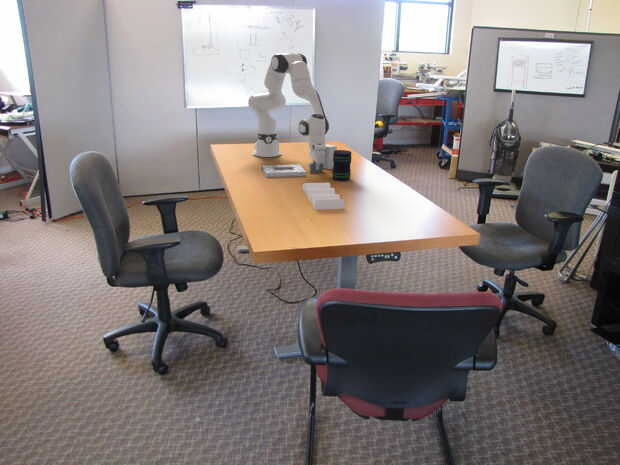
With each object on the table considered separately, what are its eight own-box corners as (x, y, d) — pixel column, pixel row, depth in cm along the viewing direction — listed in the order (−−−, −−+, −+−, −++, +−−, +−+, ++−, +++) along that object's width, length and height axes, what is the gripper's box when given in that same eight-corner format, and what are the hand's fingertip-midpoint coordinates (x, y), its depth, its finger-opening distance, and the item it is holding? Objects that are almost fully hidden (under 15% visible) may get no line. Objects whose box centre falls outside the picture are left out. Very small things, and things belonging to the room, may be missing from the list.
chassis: (262, 169, 294) (262, 165, 293) (299, 168, 298) (299, 164, 297) (266, 177, 278) (266, 172, 277) (305, 176, 282) (305, 171, 281)
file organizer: (327, 188, 262) (327, 179, 260) (343, 210, 230) (344, 199, 228) (302, 189, 260) (302, 179, 258) (315, 211, 228) (315, 200, 226)
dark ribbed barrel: (351, 177, 282) (353, 150, 276) (348, 182, 273) (349, 154, 267) (334, 176, 284) (335, 149, 279) (330, 180, 275) (331, 152, 270)
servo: (307, 170, 294) (307, 161, 292) (323, 170, 296) (323, 160, 294) (308, 172, 290) (309, 162, 288) (325, 172, 292) (325, 162, 290)
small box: (336, 168, 302) (337, 146, 297) (328, 169, 298) (328, 147, 293) (327, 165, 308) (327, 143, 303) (319, 166, 304) (319, 145, 299)
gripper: (307, 140, 296) (307, 164, 301) (315, 147, 277) (314, 172, 282) (318, 140, 297) (317, 163, 302) (326, 147, 279) (325, 172, 284)
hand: (316, 168), depth 292 cm, fingers closed on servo, 4 cm apart
